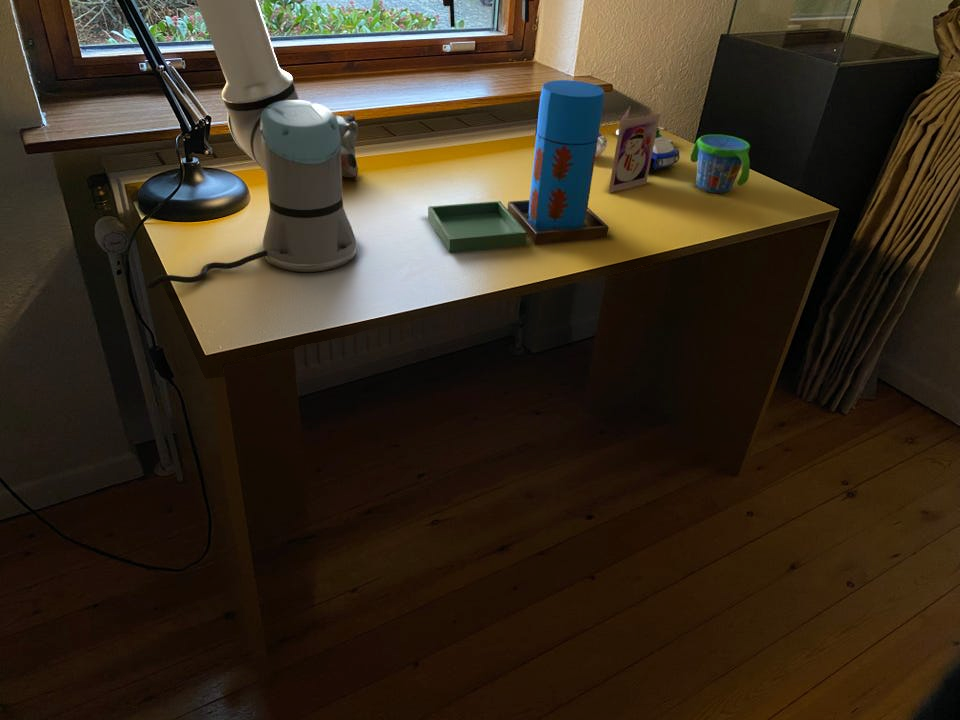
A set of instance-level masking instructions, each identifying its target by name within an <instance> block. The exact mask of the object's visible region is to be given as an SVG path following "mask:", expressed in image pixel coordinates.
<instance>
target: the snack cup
mask: <svg viewBox="0 0 960 720" xmlns="http://www.w3.org/2000/svg"><path fill="white" fill-rule="evenodd" d="M750 149H751V145H750V143H749V142H748V141H746V140H745V139H743V138H739V137H736V136H732V135H727V134H719V133H718V134H713V133H712V134H704V135H702V136H700V137H699V138H698V139H697V140H696V142H695V143H694V145H693V148H692V149H691V152H690V157H689V158H690V161H691V162H692V163H697V167H696V187H698V188H699V189H701V190H703V191H706V192H708V193H714V194H726V193H728V192H730V191H731V190H732V189H733V187H734V184H735V182H736V185H738V186H742V185H744V184H746V183H747V182H748V180H749V177H750V167H751V166H750V165H751V163H750V156H749V152H750ZM739 173H740V174H739ZM736 180H737V181H736Z"/></svg>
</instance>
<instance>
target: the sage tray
mask: <svg viewBox="0 0 960 720" xmlns="http://www.w3.org/2000/svg"><path fill="white" fill-rule="evenodd" d="M427 220H428V221H429V223H430V224H431V227H432V228H433V229H434V231H435V232H436V234H437V235H438V237H439V239H440V240H441V243H443V245H444V246H445V248H446V249H447V251H448V253H458V252H460V253H461V252H471V251H479V250H490V249H491V250H492V249H499V248H500V249H502V248H513V247H520V246H521V247H522V246H526V245H527V238H528V236H527V232H526V231H525V230H524V228H523V227H522V226H521V225H520V224H519V223H518V221H517V220H516V219H515V218H514V217H513V216H512V214H511V213H510V212H509V211H508V208H506V206H505V205H504V204H503V203H502V201H500V200H499V201H498V200H497V201H496V200H495V201H483V202H482V201H481V202H470V203H457V204H456V203H455V204H444V205H429V206H428V207H427Z"/></svg>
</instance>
